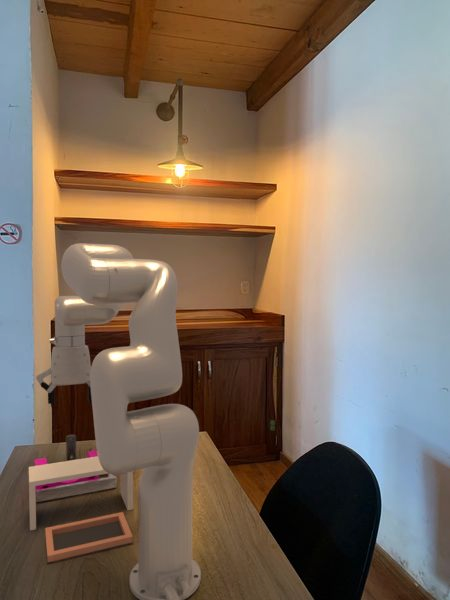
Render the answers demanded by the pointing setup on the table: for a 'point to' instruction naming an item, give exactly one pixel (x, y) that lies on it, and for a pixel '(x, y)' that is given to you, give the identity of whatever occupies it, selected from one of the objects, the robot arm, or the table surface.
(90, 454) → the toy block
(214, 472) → the table surface
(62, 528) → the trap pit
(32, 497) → the tunnel
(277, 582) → the table surface
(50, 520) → the table surface
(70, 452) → the slider
